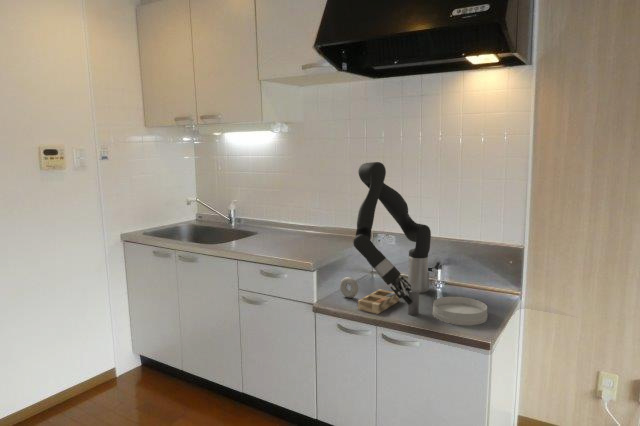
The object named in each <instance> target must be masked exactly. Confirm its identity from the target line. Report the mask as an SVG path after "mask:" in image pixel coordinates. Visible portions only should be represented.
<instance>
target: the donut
mask: <svg viewBox="0 0 640 426" xmlns="http://www.w3.org/2000/svg"><path fill="white" fill-rule="evenodd" d="M348 285H349V286H350V290H349V289H348ZM339 289H340V292H341V294H342V296H344V297H346V298H349V299H353V298H354V297H356V296H357V295H358V292H359V284H358V282H357V281H356V279H354V278H353V277H351V276H346V277H344V278H342V279H341V281H340V284H339Z"/></svg>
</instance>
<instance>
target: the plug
mask: <svg viewBox="0 0 640 426" xmlns="http://www.w3.org/2000/svg"><path fill="white" fill-rule="evenodd" d="M407 296H408V297H409V298H410V299H411V300H412V303H411V304H410V305H408V304H407V308H408V309H407V314H408V315H409V316H413V317H415V316H419V311H420V310H419V309H420V293H419V291H418V290H414V289H412V290H409V294H408V295H407Z"/></svg>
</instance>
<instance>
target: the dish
mask: <svg viewBox="0 0 640 426" xmlns="http://www.w3.org/2000/svg"><path fill="white" fill-rule="evenodd" d="M432 315H434V316H433V318H435V317H436V318H435V319H437V320H438V319H439V320H438V321H441V322H443V321H444V322H443V323H446V322H447V324H450V323H451V325H458V326H476V325H481V324H484V323H486V322H487V320H488V305H486V303H484V302H482V301H481V300H477V299H474V298H470V297H465V296H442V297H439V298H436V299H435V300H434V301H433V307H432Z"/></svg>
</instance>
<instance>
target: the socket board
mask: <svg viewBox="0 0 640 426" xmlns="http://www.w3.org/2000/svg"><path fill="white" fill-rule="evenodd" d="M398 302H400V298H399V297H398V296H397V295H396V294H395V293H394V291H393V290H392V291H391V290H385V289H381V288H380V289H377V290H375V291H373V292H371V293H370V294H368V295H365V296H364V297H362V298H360V299H358V300H357V310H359V311H363V312H369V313H373V314H377V315H379V314H381V313H382V312H384V311H385V310H387V309H389V308H390V307H392V306H394V305H395V304H397V303H398Z"/></svg>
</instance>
